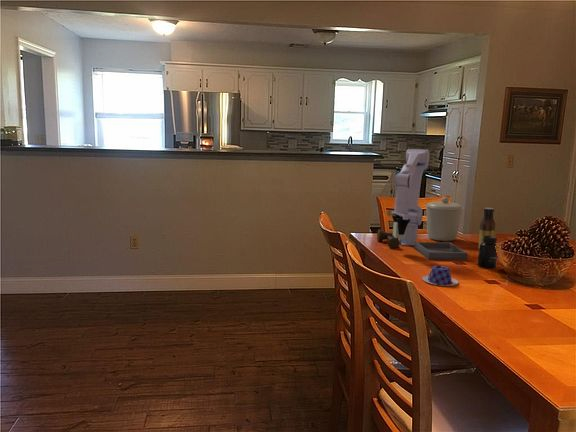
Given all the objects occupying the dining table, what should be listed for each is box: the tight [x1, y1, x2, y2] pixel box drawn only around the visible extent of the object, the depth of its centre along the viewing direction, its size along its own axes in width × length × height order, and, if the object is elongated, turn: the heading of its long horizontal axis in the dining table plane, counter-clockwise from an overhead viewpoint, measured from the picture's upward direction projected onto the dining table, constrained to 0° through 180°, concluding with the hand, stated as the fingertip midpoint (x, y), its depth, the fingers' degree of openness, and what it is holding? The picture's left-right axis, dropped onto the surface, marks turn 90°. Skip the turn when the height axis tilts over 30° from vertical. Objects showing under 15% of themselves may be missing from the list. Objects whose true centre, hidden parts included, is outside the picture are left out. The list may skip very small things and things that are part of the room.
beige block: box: [392, 221, 407, 238], centre depth 194 cm, size 4×4×6 cm
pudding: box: [421, 265, 459, 287], centre depth 158 cm, size 12×12×5 cm
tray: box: [414, 241, 468, 261], centre depth 195 cm, size 18×16×3 cm
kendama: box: [376, 229, 400, 249], centre depth 212 cm, size 6×10×20 cm
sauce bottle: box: [477, 207, 496, 249], centre depth 198 cm, size 6×6×20 cm
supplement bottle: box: [477, 236, 499, 270], centre depth 177 cm, size 7×7×12 cm
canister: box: [424, 196, 465, 242], centre depth 222 cm, size 18×18×21 cm
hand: (399, 233), depth 195 cm, fingers closed on beige block, 4 cm apart
